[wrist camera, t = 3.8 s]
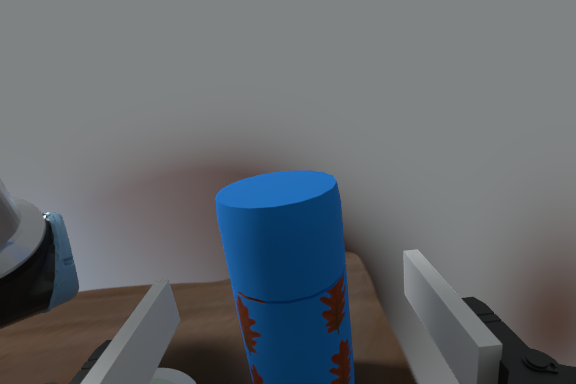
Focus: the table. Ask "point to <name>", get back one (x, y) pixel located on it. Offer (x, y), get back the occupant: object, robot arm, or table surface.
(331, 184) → the thermos
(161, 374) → the levelling base
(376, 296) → the table surface
